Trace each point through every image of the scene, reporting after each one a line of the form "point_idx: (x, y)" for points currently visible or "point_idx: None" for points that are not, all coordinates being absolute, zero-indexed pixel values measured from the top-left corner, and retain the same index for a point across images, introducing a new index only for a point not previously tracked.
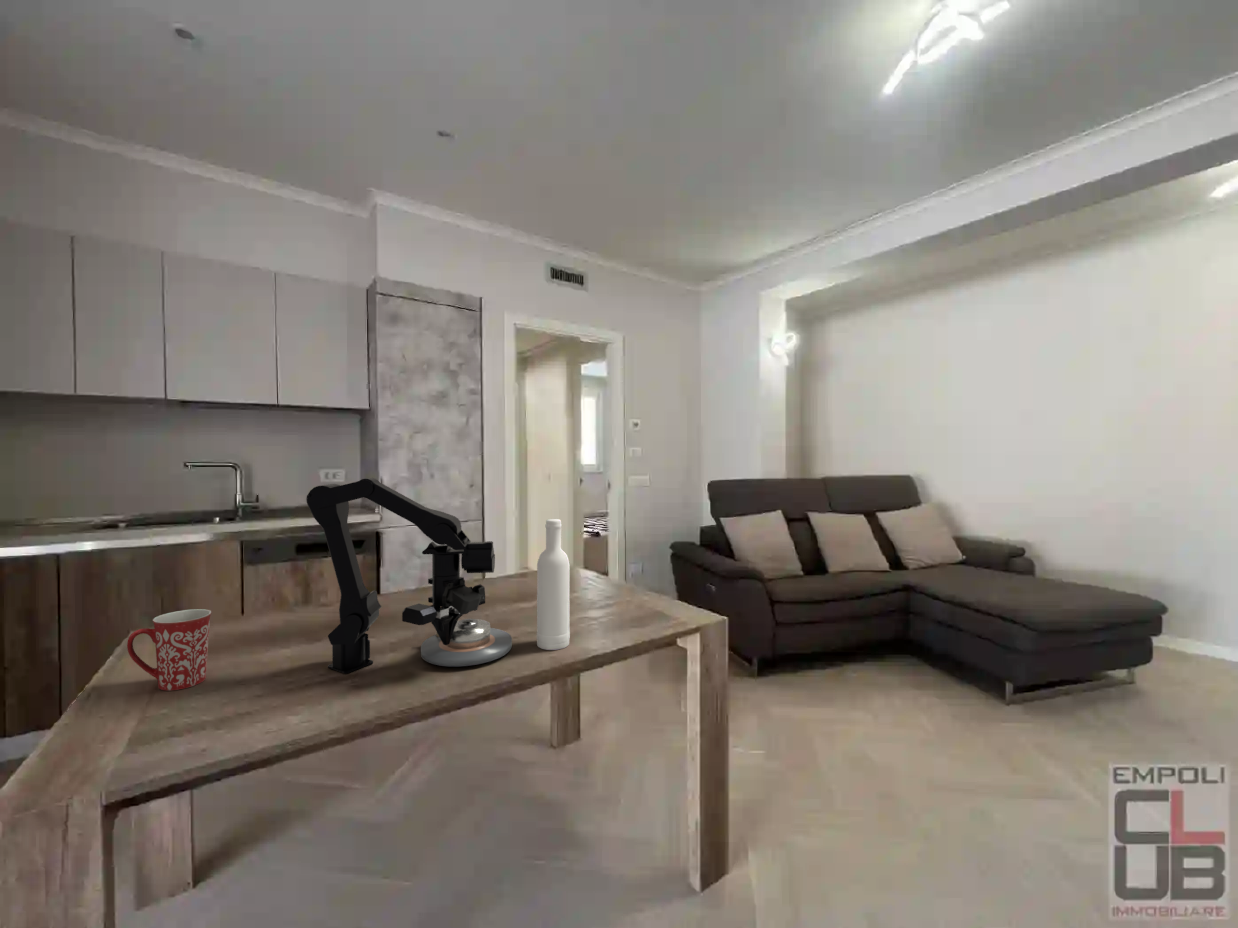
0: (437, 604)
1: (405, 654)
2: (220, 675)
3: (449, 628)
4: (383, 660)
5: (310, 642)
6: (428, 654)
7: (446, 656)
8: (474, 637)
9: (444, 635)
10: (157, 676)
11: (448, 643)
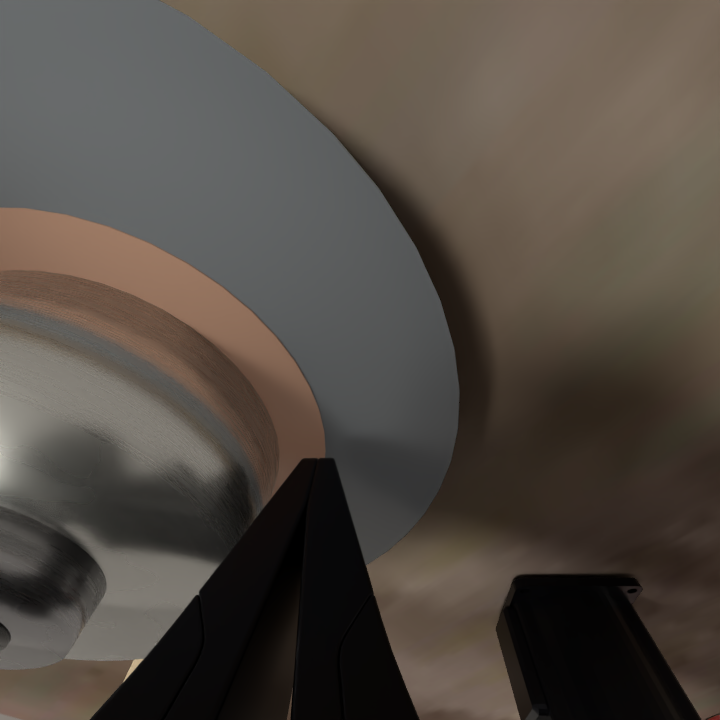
0: None
1: (383, 558)
2: (697, 709)
3: (264, 629)
4: (470, 571)
5: (457, 714)
6: (442, 468)
7: (407, 351)
8: (31, 338)
9: (361, 552)
10: None
11: (313, 461)
